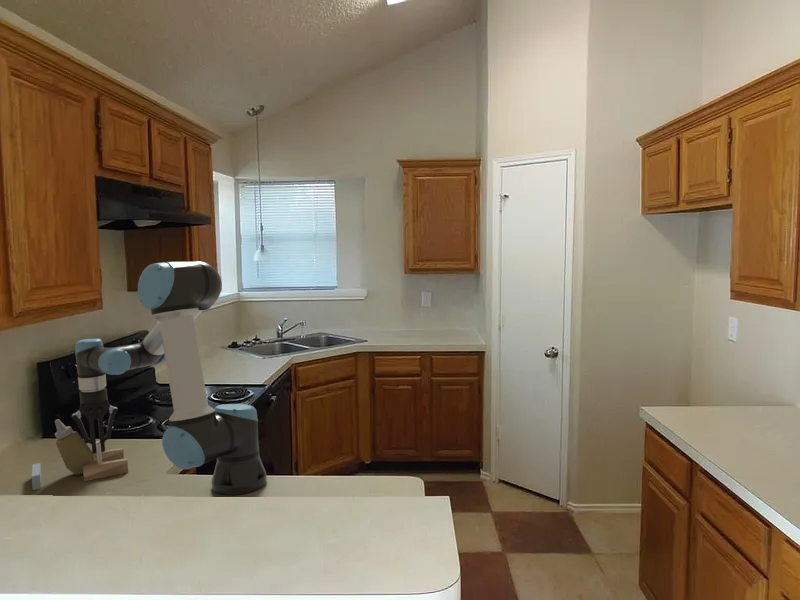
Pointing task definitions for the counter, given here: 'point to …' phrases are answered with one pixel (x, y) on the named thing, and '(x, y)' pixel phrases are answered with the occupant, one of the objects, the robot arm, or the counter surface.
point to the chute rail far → (110, 455)
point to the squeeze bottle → (72, 448)
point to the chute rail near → (105, 469)
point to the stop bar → (36, 476)
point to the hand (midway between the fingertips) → (99, 462)
